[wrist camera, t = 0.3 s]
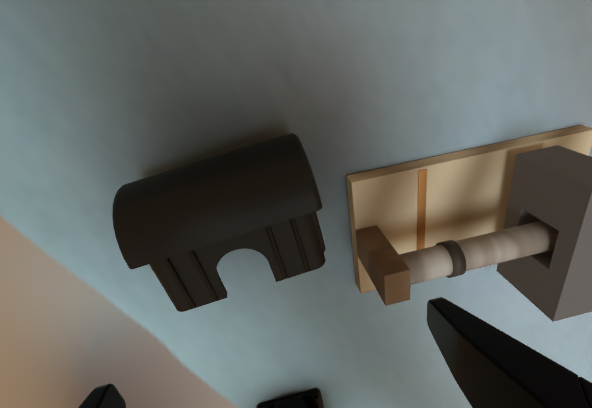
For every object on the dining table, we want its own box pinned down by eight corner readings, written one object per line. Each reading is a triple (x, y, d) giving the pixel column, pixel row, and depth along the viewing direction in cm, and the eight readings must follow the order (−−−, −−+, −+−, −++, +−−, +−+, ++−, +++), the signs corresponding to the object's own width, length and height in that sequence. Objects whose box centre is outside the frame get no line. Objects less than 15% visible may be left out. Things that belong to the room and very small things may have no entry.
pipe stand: (580, 124, 25) (682, 152, 19) (552, 236, 30) (627, 284, 24) (346, 175, 23) (382, 221, 18) (356, 283, 28) (387, 346, 23)
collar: (557, 145, 22) (644, 175, 18) (530, 262, 27) (593, 310, 22) (516, 154, 22) (593, 187, 17) (496, 270, 27) (553, 321, 22)
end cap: (287, 118, 21) (309, 152, 15) (313, 211, 24) (339, 269, 18) (133, 165, 21) (93, 218, 15) (180, 253, 24) (164, 325, 18)
